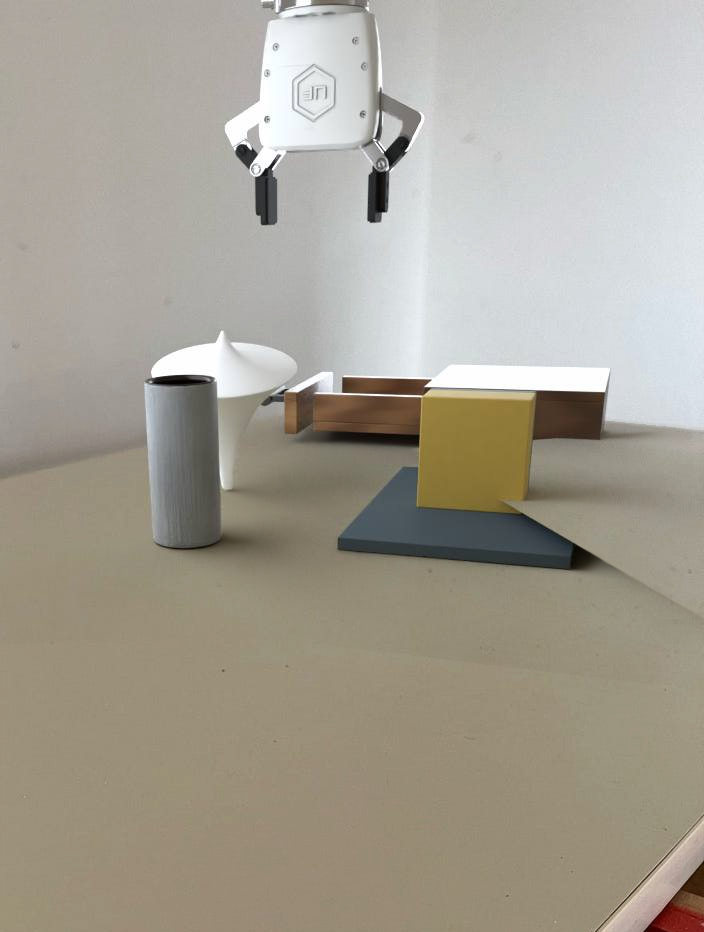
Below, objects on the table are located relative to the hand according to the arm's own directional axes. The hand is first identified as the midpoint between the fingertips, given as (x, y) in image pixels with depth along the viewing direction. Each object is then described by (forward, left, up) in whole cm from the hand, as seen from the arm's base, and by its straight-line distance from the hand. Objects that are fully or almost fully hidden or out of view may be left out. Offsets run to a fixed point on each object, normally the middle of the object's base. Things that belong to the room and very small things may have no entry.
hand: (320, 223), depth 92 cm
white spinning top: (+13, +19, -19) cm, 30 cm away
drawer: (-3, +1, -18) cm, 18 cm away
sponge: (-2, +31, -18) cm, 36 cm away
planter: (+18, +31, -19) cm, 40 cm away
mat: (-2, +31, -19) cm, 36 cm away
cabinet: (-16, +9, -19) cm, 26 cm away
